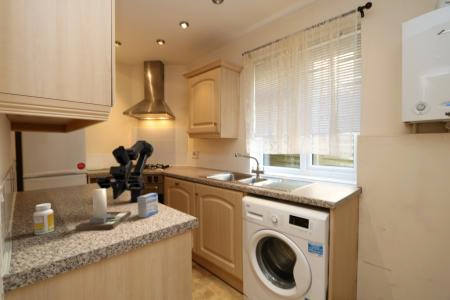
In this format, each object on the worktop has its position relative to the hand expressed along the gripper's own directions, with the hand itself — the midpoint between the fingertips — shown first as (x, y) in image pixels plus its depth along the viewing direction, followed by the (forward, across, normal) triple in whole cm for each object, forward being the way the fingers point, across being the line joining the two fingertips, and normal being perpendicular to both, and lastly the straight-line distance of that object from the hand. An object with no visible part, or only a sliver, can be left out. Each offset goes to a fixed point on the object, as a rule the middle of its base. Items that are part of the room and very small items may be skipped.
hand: (114, 199), depth 92 cm
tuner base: (+10, 0, 0) cm, 10 cm away
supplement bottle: (+16, -17, -6) cm, 24 cm away
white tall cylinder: (+12, +1, -4) cm, 13 cm away
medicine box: (+6, +14, +5) cm, 16 cm away
